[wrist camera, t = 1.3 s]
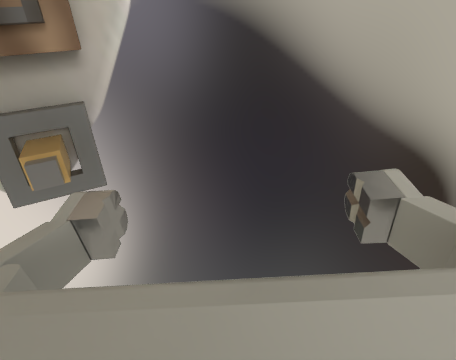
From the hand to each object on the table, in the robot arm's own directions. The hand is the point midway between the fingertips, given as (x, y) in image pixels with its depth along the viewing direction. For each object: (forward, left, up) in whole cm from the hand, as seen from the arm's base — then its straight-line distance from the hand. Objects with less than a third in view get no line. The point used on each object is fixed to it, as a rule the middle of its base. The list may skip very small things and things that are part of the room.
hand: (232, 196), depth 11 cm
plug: (-10, -7, -35) cm, 37 cm away
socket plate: (-10, -7, -35) cm, 37 cm away
